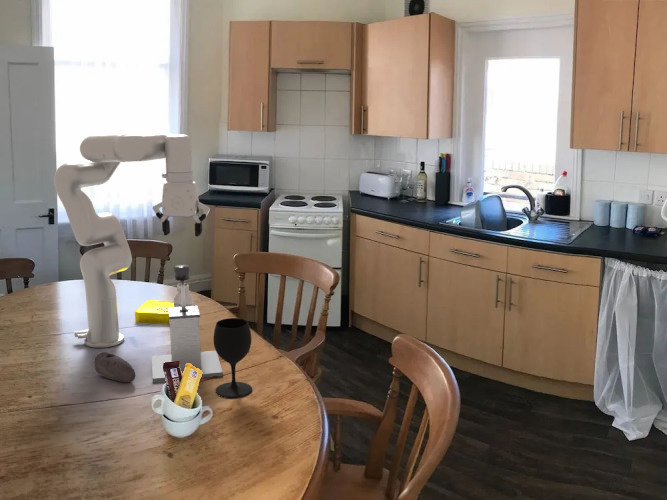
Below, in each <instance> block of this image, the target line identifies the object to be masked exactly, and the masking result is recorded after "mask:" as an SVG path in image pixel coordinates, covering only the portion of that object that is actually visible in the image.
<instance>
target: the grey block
mask: <svg viewBox="0 0 667 500" xmlns="http://www.w3.org/2000/svg"><path fill="white" fill-rule="evenodd" d="M168 312H169V321H170V324H169V335H170V337H169V338H170V339H169V340H170V354H171V361H172V362H173V361H180V368H181V370H183V369H184V368H185V364H186V363H191V364H192V365H193V366H195V367H196V368H201V352H202V351H201V326H200V318H201V314H200V313H201V312H200V309H199V305H193V306H186V312H182V307H170V308H168Z"/></svg>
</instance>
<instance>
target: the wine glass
mask: <svg viewBox="0 0 667 500" xmlns="http://www.w3.org/2000/svg"><path fill="white" fill-rule="evenodd" d="M251 332H252V331H251V328H250V325H249V322H248V321H247V320H246V319H243V318H237V317H230V318H223V319H220V320H218V321H216V323H215V327H214V331H213V345H214V351H216V352H217V354H218V357H220V358H221V359H222V360H223V361H225V363H228V364H229V365H230V370H231V381H230V382H225V383H221V384H220V385H218V386H217V387H216V388H215V394H216V393H217V394H218V395H220V396H219V397H221V396H222V397H221V398H224V397H226V398H225V399H239V398H238V397H240V398H244V397H247V396H248V395H250V394H251V393H252V392H253V387H252V385H251V384H249V383H247V382H242V381H237V380H236V366H237V364H238V363H239V362H241V361H242V360H243V359H245V358H246V356H247V355H248V354H249V352H250V350H251V346H252V333H251ZM217 394H216V395H217ZM218 395H217V396H218ZM246 395H247V396H246ZM243 396H244V397H243Z"/></svg>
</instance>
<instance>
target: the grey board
mask: <svg viewBox="0 0 667 500" xmlns="http://www.w3.org/2000/svg"><path fill="white" fill-rule="evenodd" d="M165 362H171V353H170V354H159V355H151V368H152V383H162V382H163V383H164V382H166V381H165V375H164V372H163V363H165ZM199 369H200V370H202V372H203V374H202V377H207V378H212V377H211V376H218V377H223V369H222V366H221V362H220V358H219V355H218V354H217V352H216V350H208V351H205V350H204V351H201V368H199ZM181 371H182V373H183V371H184V369H183V370H181Z"/></svg>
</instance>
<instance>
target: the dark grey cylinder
mask: <svg viewBox="0 0 667 500" xmlns="http://www.w3.org/2000/svg"><path fill="white" fill-rule="evenodd" d="M173 268H174V269H173V271H174V272H173V273H174V280H175V281H179V282H180V283H179V284H181V305H182V312H186V302H185V284H186V283H185V282H186V281H189V280H190V279H191V276H190V275H191V272H190V271H191V269H190V265H188V264H178V265H175V266H174V267H173Z"/></svg>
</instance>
